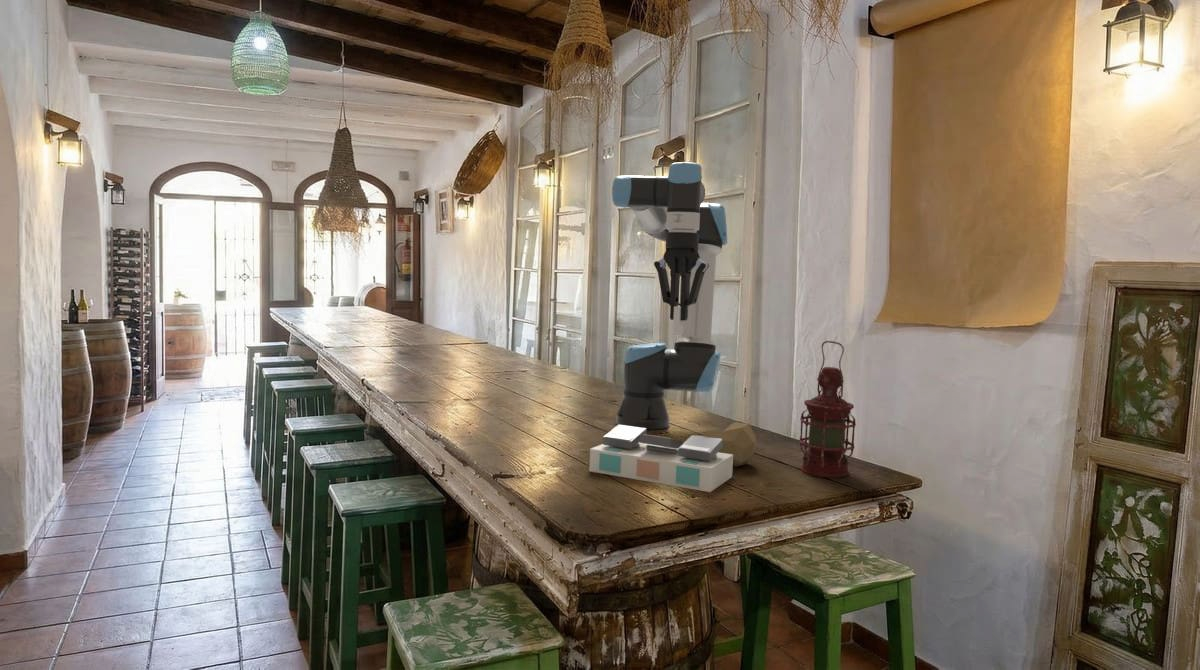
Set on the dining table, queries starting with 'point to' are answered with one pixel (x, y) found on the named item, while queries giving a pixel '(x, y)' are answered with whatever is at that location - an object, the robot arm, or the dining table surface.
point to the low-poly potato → (736, 442)
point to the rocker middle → (660, 441)
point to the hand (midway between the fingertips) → (678, 334)
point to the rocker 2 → (700, 447)
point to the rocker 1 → (624, 436)
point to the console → (662, 466)
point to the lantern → (827, 426)
